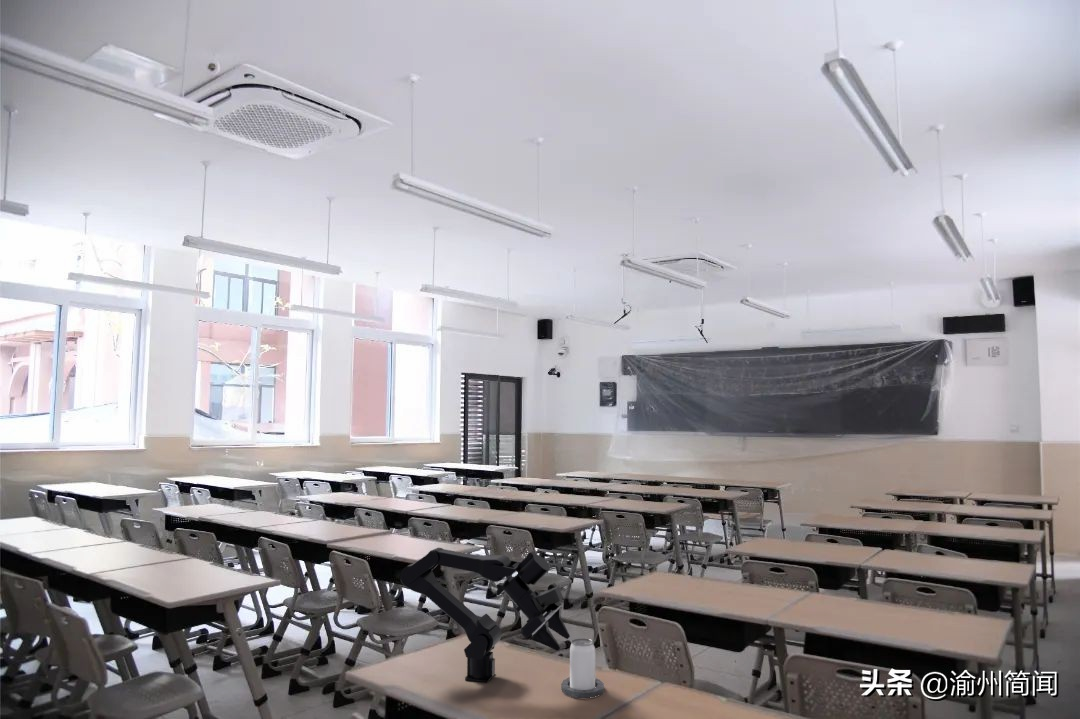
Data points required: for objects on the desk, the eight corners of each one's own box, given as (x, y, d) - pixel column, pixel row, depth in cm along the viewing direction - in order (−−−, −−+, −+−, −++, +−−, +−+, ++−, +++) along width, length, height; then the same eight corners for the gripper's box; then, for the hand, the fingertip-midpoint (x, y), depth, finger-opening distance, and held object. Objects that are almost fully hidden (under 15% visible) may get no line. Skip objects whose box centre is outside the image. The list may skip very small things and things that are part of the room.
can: (593, 696, 172) (593, 646, 172) (567, 694, 173) (567, 645, 174) (596, 686, 178) (596, 638, 179) (571, 684, 179) (571, 636, 180)
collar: (558, 696, 171) (558, 690, 172) (566, 680, 182) (566, 674, 182) (600, 700, 169) (600, 694, 169) (605, 684, 179) (605, 678, 179)
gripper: (533, 584, 172) (576, 634, 167) (553, 567, 189) (593, 612, 185) (503, 614, 173) (545, 664, 169) (526, 595, 191) (565, 639, 187)
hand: (564, 643), depth 178 cm, fingers open, 9 cm apart
